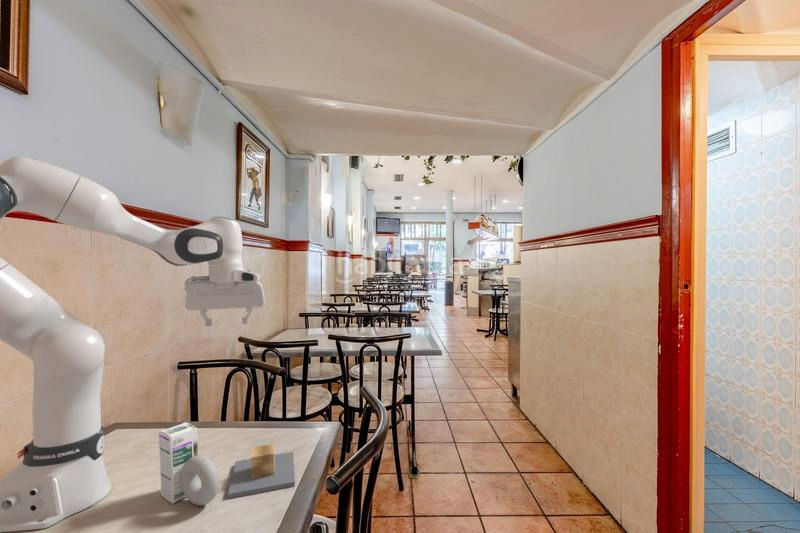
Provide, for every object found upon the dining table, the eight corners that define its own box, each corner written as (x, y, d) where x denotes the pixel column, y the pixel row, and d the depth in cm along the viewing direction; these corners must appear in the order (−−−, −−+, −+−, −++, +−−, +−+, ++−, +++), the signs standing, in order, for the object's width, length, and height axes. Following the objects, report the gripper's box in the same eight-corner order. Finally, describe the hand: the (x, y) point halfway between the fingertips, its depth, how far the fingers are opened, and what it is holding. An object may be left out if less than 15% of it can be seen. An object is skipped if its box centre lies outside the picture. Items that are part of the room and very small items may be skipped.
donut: (223, 504, 78) (222, 458, 78) (208, 515, 75) (208, 466, 75) (191, 492, 82) (191, 448, 82) (176, 501, 79) (176, 455, 79)
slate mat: (228, 498, 80) (227, 494, 80) (235, 465, 93) (235, 461, 93) (294, 486, 84) (294, 481, 84) (293, 455, 98) (293, 451, 98)
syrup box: (172, 504, 78) (170, 436, 78) (160, 495, 81) (158, 430, 81) (199, 491, 83) (197, 426, 83) (187, 482, 86) (185, 420, 86)
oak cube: (251, 478, 86) (251, 457, 86) (253, 467, 90) (252, 447, 90) (274, 474, 87) (273, 453, 87) (274, 463, 92) (274, 443, 92)
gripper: (181, 277, 97) (182, 329, 97) (263, 275, 103) (264, 324, 103) (187, 276, 103) (188, 325, 103) (264, 274, 109) (265, 320, 109)
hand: (227, 324), depth 103 cm, fingers open, 8 cm apart
